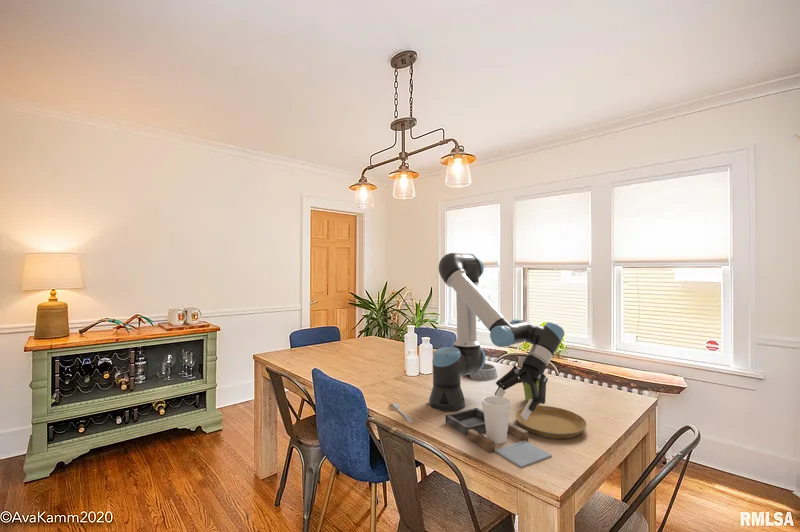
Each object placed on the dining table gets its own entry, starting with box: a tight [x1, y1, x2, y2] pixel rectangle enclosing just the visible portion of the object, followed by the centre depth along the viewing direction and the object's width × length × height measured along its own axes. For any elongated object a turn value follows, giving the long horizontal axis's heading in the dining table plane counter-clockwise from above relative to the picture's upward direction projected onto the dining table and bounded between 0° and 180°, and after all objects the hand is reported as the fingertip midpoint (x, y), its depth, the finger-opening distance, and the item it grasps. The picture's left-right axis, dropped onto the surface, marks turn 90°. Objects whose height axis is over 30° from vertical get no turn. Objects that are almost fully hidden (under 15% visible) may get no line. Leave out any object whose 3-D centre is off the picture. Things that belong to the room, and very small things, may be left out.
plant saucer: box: [514, 405, 588, 440], centre depth 134 cm, size 24×24×3 cm
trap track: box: [445, 407, 529, 454], centre depth 130 cm, size 25×17×3 cm
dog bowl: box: [468, 362, 498, 381], centre depth 198 cm, size 17×18×5 cm
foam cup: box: [481, 395, 512, 444], centre depth 124 cm, size 10×9×13 cm
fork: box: [388, 402, 415, 423], centre depth 148 cm, size 3×21×3 cm, turn 24°
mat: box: [494, 440, 553, 468], centre depth 114 cm, size 11×13×1 cm
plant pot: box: [521, 380, 539, 402], centre depth 160 cm, size 9×9×9 cm
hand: (507, 411), depth 125 cm, fingers open, 13 cm apart
